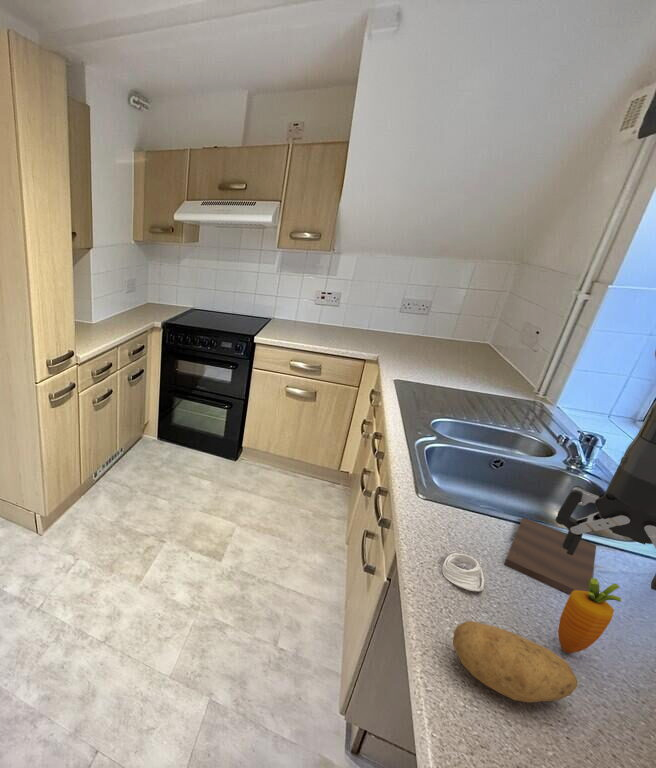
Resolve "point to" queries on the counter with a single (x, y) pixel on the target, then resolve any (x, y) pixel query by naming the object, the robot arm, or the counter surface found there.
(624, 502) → the robot arm
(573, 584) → the cutting board
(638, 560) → the counter surface
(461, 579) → the white string coil
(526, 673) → the potato
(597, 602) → the carrot
